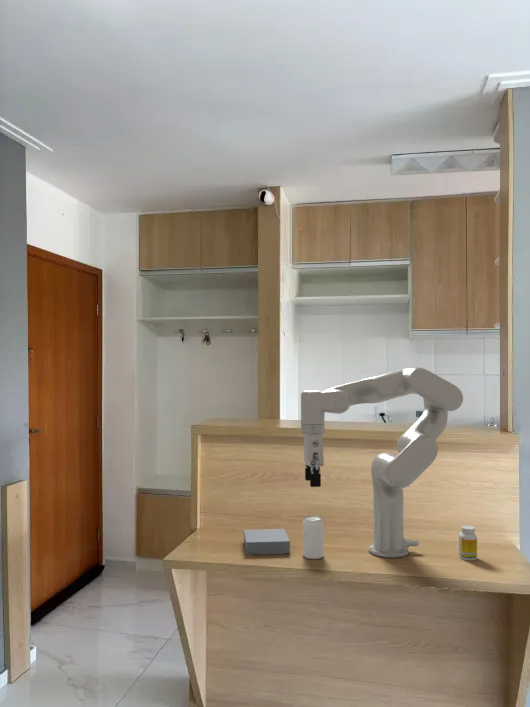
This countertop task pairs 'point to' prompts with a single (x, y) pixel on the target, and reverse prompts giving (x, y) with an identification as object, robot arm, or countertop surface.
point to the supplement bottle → (468, 543)
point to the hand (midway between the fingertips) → (312, 483)
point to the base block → (266, 541)
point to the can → (313, 537)
